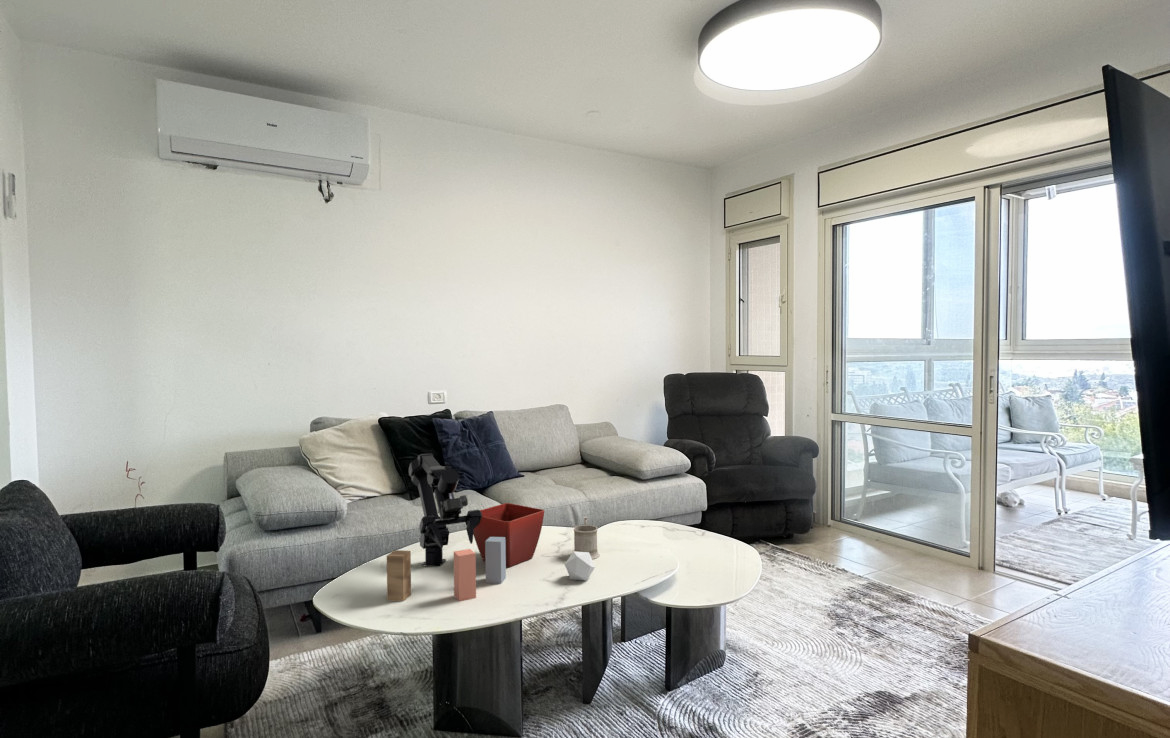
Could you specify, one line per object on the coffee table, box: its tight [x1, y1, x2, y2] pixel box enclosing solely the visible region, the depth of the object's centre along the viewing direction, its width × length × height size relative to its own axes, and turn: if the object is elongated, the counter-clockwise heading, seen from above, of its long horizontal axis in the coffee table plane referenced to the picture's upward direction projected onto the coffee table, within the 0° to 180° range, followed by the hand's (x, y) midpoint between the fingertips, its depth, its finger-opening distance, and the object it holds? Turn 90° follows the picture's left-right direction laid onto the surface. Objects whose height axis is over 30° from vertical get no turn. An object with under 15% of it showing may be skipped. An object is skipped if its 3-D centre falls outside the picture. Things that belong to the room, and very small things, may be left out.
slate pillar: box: [484, 537, 507, 585], centre depth 190 cm, size 5×5×13 cm
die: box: [564, 550, 596, 582], centre depth 191 cm, size 8×9×10 cm
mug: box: [573, 516, 601, 561], centre depth 216 cm, size 14×10×12 cm
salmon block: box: [453, 548, 477, 602], centre depth 177 cm, size 5×5×13 cm
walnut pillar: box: [386, 549, 412, 602], centre depth 177 cm, size 5×5×13 cm
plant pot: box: [473, 502, 545, 568], centre depth 210 cm, size 19×19×17 cm
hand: (457, 545), depth 183 cm, fingers open, 9 cm apart
